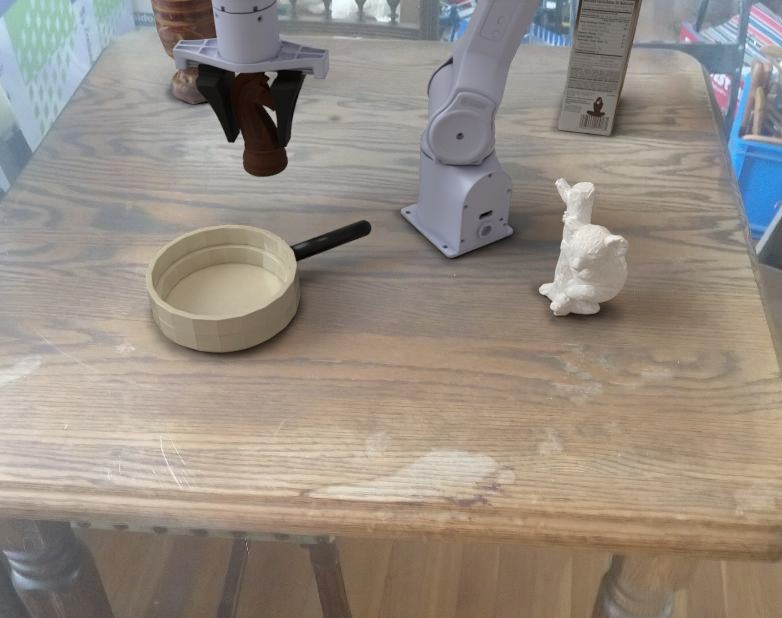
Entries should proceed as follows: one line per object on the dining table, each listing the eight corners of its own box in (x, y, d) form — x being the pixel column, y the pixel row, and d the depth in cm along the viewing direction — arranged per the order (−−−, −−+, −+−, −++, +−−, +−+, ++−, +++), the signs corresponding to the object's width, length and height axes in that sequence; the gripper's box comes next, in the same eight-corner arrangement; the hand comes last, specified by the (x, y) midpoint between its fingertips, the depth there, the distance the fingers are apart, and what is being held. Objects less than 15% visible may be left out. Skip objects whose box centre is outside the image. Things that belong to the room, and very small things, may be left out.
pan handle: (288, 268, 83) (287, 255, 82) (281, 259, 84) (280, 246, 83) (374, 236, 86) (374, 222, 85) (366, 228, 87) (366, 214, 86)
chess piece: (279, 180, 86) (269, 84, 79) (232, 173, 87) (218, 79, 80) (294, 155, 89) (285, 61, 82) (248, 150, 90) (236, 57, 83)
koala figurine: (515, 290, 83) (532, 182, 74) (572, 268, 85) (595, 160, 76) (571, 343, 78) (596, 233, 69) (630, 318, 79) (662, 208, 70)
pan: (325, 322, 81) (323, 284, 78) (188, 377, 77) (179, 340, 74) (260, 245, 90) (256, 208, 86) (134, 291, 86) (124, 254, 82)
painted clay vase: (151, 75, 116) (118, -88, 102) (210, 59, 119) (187, -103, 104) (181, 112, 109) (150, -58, 94) (243, 94, 111) (223, -74, 97)
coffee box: (567, 93, 108) (590, -43, 96) (620, 99, 106) (650, -39, 94) (556, 131, 102) (579, -10, 90) (612, 137, 100) (643, -5, 88)
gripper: (334, -15, 77) (339, 124, 87) (182, -22, 80) (204, 114, 90) (315, 19, 73) (323, 162, 83) (155, 10, 76) (181, 149, 86)
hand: (259, 139), depth 86 cm, fingers closed on chess piece, 5 cm apart
